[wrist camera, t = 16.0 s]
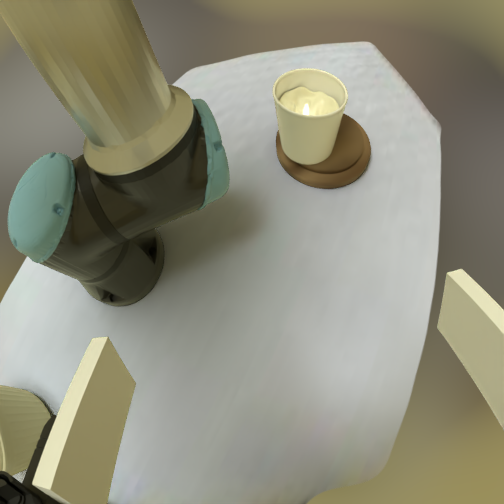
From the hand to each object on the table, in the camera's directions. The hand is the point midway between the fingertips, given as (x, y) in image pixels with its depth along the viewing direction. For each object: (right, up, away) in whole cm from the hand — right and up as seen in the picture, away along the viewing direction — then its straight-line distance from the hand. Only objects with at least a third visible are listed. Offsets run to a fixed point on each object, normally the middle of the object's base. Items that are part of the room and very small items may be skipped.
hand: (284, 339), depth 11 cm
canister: (-41, -29, +30) cm, 58 cm away
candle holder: (+8, +20, +37) cm, 43 cm away
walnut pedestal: (+11, +21, +40) cm, 47 cm away
